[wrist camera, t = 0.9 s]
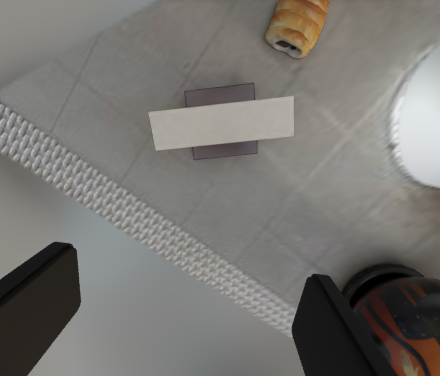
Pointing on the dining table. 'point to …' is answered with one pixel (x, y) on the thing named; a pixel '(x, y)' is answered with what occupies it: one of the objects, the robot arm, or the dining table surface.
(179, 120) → the over-ear headset
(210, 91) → the headphone stand
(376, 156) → the dining table surface
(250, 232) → the dining table surface
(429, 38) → the dining table surface
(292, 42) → the pastry
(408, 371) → the amphora vase
